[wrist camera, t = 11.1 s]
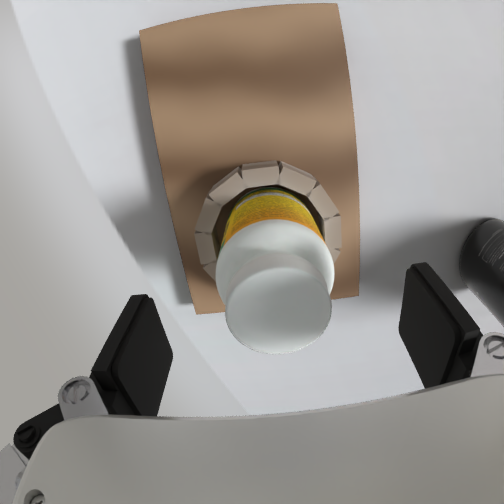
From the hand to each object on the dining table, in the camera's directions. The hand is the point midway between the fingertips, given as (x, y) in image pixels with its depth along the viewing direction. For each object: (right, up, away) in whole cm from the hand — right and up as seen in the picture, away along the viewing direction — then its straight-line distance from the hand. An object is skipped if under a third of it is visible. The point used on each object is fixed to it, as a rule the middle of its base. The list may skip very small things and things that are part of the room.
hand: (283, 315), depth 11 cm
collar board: (-1, +8, +9) cm, 12 cm away
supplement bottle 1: (0, +4, +9) cm, 10 cm away
